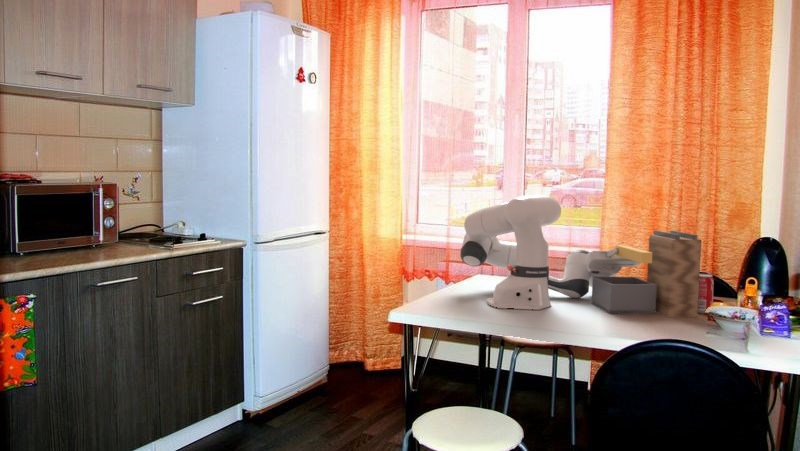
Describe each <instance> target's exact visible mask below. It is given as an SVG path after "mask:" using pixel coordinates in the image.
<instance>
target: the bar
mask: <svg viewBox="0 0 800 451" xmlns="http://www.w3.org/2000/svg"><path fill="white" fill-rule="evenodd" d="M615 248H619V253H618V254H615V255H617V256H620V257H623V258H626V259H629V260H633V261H636V262H639V263H641V264H648V263H652V252H649V250H648V251H647V250H644V249H640V248H637V247H633V246H629V245H621V244H619V245H615Z"/></svg>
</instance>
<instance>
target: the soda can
mask: <svg viewBox="0 0 800 451" xmlns="http://www.w3.org/2000/svg"><path fill="white" fill-rule="evenodd" d="M714 281H715V280H714V278H713V275H712V274H710V273H700V274H699V291H698V308H697V314H705V311H706V309H707V308H708V307H709V306H710V305H711V304H712V303H713V304H714V289H715V288H714V287H715V286H714V285H715V282H714ZM705 315H706V314H705Z"/></svg>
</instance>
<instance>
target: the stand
mask: <svg viewBox="0 0 800 451" xmlns="http://www.w3.org/2000/svg"><path fill="white" fill-rule="evenodd" d="M648 237H649V238H648V252H652V263H647V274H646V276H647V277H646V281H648V282H651V283H653V284H656V285H657V290H656V309H655V313H658V314H660V315H662V316H665V317H667V318H697V317H698V313H697V308H698V291H699V274H701V272H700V271H701V256H702V255H701V253H702V239H699V238H698V235H697V234H694V233H689V232H682V231H677V230H669V232H668V231H667V232H666V231H662V230H653V234H649V236H648Z"/></svg>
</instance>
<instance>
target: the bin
mask: <svg viewBox="0 0 800 451" xmlns="http://www.w3.org/2000/svg"><path fill="white" fill-rule="evenodd" d="M591 288H592V289H591V305H593V306H595V307H596V308H599V309H600V310H602V311H603V312H605V313H607V314H610V315H624V314H625V315H641V314H642V315H644V314H645V315H649V314H650V315H651V314H652V315H653V314H654V315H656V311H655V309H656V290H657V285H656V284H653V283H651V282H648V281H647V280H645V279H642V278H640V277H637V276H614V277H593V284H592V287H591Z"/></svg>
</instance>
